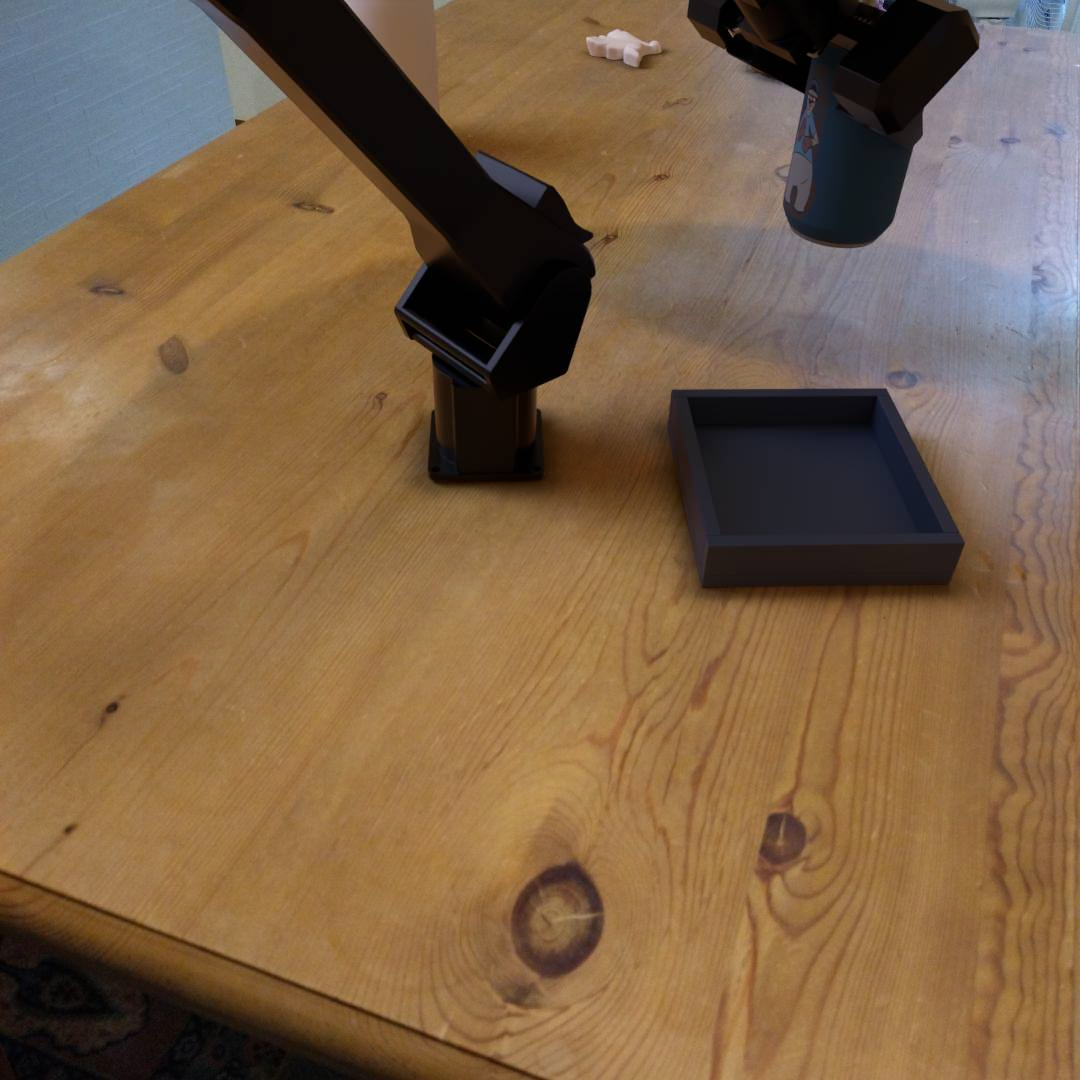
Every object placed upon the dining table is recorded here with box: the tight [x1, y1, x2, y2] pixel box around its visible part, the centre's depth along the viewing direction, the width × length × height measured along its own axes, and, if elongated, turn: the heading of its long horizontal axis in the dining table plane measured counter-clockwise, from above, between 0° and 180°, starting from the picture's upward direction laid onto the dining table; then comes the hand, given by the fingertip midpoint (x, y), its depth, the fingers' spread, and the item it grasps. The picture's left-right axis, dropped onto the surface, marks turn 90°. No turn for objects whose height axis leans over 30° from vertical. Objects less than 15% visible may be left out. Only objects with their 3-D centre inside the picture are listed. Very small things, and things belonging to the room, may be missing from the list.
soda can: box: [782, 44, 925, 249], centre depth 64 cm, size 7×7×12 cm
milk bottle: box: [345, 0, 441, 116], centre depth 89 cm, size 8×8×20 cm
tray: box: [666, 387, 966, 588], centre depth 57 cm, size 14×13×3 cm
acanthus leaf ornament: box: [585, 28, 662, 68], centre depth 115 cm, size 8×7×2 cm
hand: (875, 121), depth 64 cm, fingers closed on soda can, 7 cm apart
